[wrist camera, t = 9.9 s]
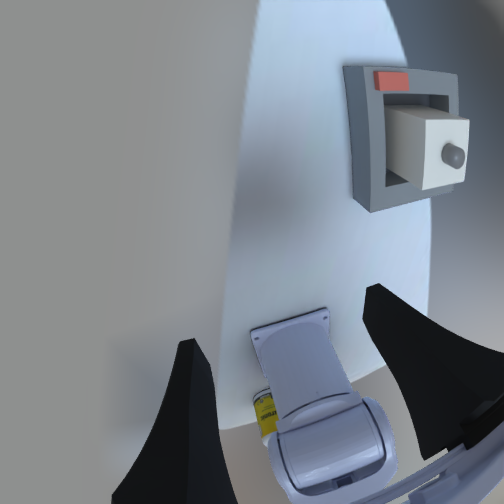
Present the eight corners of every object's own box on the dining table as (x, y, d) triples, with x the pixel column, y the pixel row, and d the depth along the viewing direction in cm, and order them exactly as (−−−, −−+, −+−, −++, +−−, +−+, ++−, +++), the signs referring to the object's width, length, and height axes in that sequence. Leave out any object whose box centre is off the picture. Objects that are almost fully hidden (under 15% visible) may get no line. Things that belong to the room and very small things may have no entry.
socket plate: (434, 180, 21) (456, 194, 18) (353, 198, 20) (373, 216, 18) (435, 71, 15) (461, 75, 13) (342, 66, 15) (367, 66, 12)
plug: (421, 157, 19) (473, 187, 14) (379, 163, 19) (432, 197, 14) (421, 105, 16) (480, 124, 12) (377, 105, 16) (437, 123, 11)
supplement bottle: (289, 382, 34) (310, 446, 26) (290, 397, 38) (309, 455, 30) (249, 392, 34) (265, 458, 26) (254, 406, 37) (269, 465, 29)
